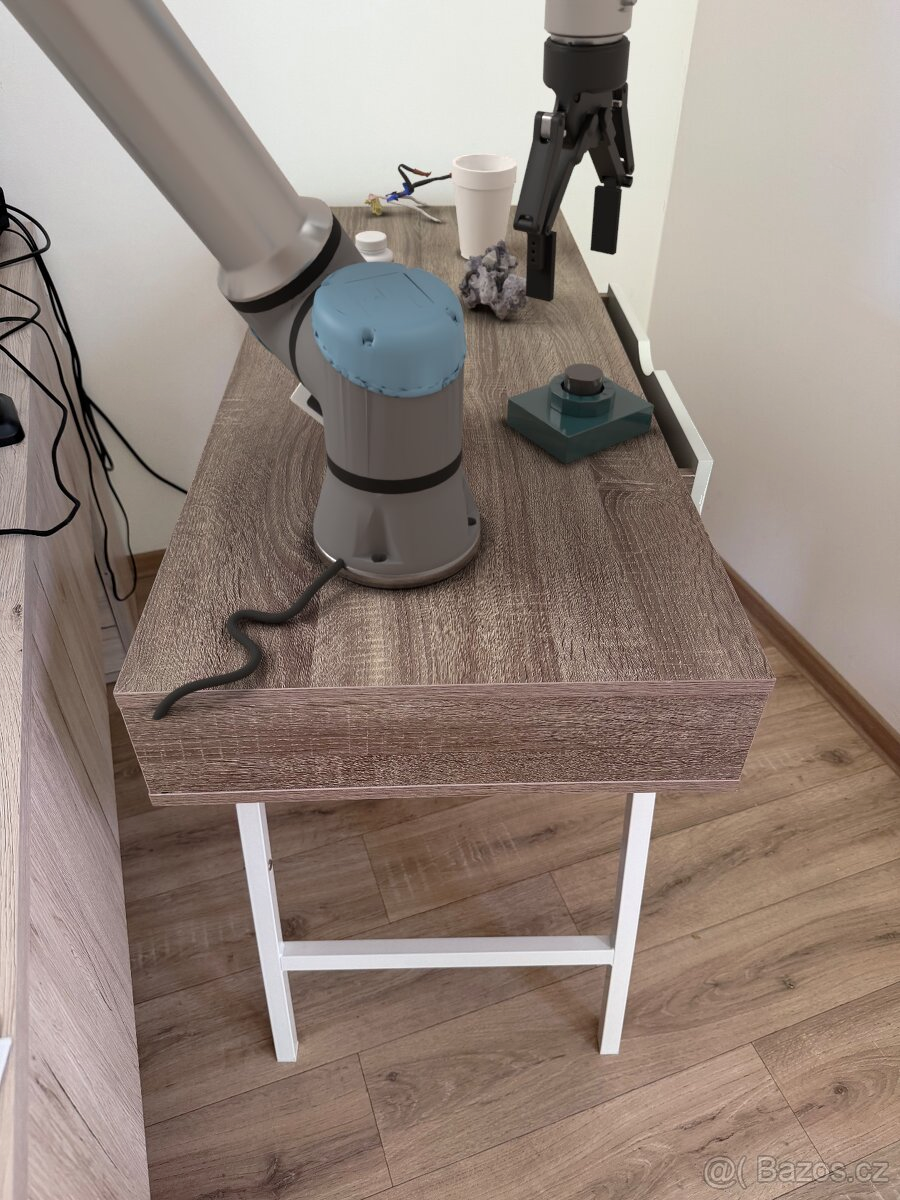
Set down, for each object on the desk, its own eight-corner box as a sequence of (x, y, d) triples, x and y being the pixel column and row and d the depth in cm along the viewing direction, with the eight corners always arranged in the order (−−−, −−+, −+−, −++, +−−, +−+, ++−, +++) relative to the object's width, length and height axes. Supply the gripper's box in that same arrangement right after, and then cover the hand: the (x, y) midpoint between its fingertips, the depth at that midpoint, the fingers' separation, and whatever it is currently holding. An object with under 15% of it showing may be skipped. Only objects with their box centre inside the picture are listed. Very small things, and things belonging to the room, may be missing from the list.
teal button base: (565, 464, 94) (569, 421, 91) (506, 423, 101) (508, 382, 97) (649, 431, 100) (657, 389, 96) (589, 394, 106) (593, 354, 103)
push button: (580, 402, 95) (582, 384, 94) (555, 387, 98) (557, 369, 96) (608, 392, 97) (611, 374, 95) (584, 377, 99) (585, 359, 98)
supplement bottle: (403, 315, 122) (401, 237, 116) (369, 326, 119) (365, 246, 113) (379, 302, 125) (375, 225, 119) (345, 312, 123) (340, 234, 116)
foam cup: (440, 248, 141) (441, 157, 133) (494, 239, 144) (497, 150, 136) (467, 269, 135) (469, 175, 126) (523, 259, 138) (528, 167, 129)
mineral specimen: (537, 303, 116) (512, 224, 114) (468, 329, 118) (442, 251, 116) (537, 312, 128) (514, 240, 126) (474, 335, 129) (451, 265, 128)
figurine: (368, 247, 160) (479, 213, 157) (361, 247, 152) (477, 211, 149) (350, 185, 157) (463, 149, 154) (342, 181, 149) (461, 144, 146)
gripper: (554, 69, 71) (544, 328, 85) (685, 13, 86) (658, 240, 100) (473, 60, 74) (476, 310, 88) (613, 7, 89) (596, 228, 103)
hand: (572, 274), depth 94 cm, fingers open, 13 cm apart
